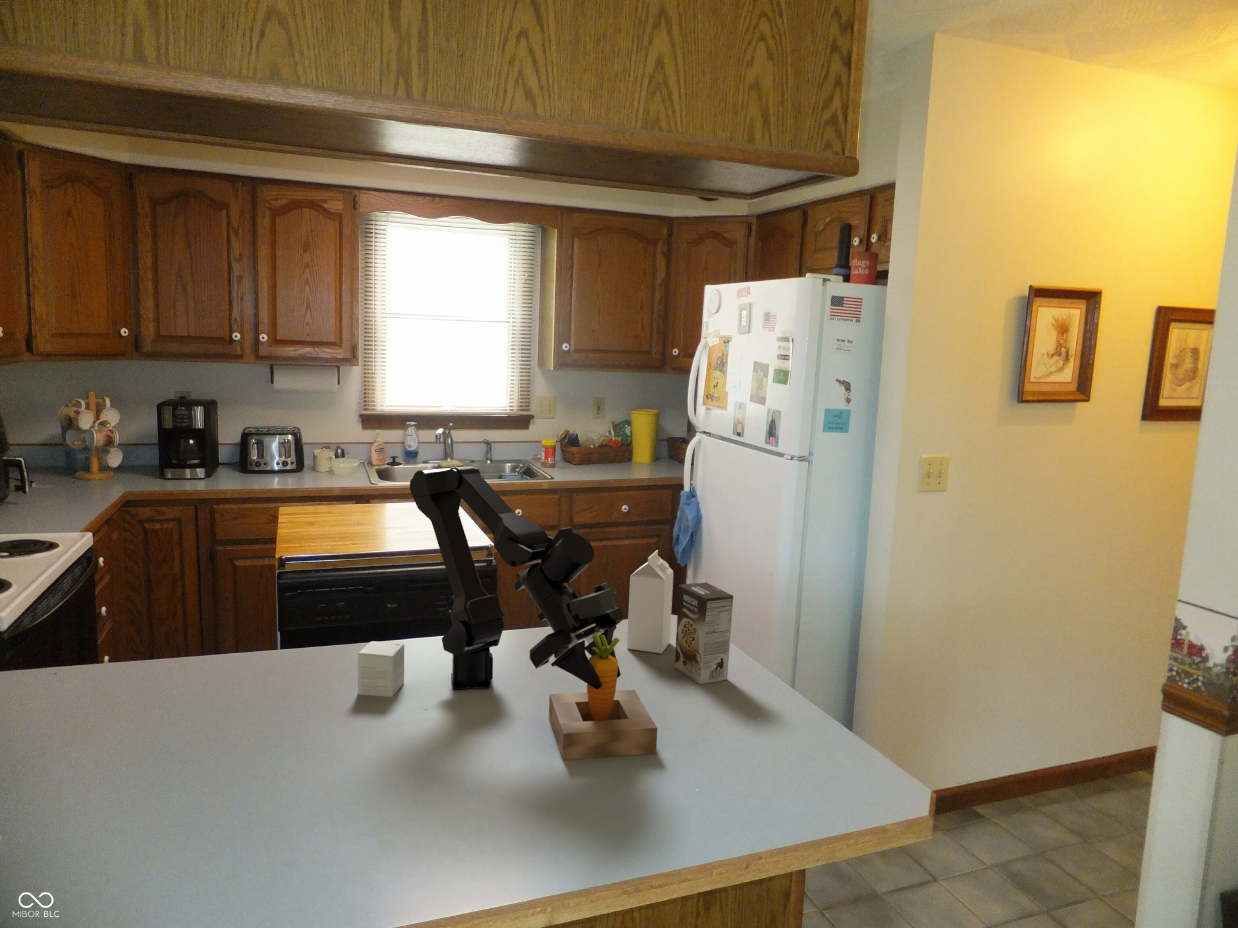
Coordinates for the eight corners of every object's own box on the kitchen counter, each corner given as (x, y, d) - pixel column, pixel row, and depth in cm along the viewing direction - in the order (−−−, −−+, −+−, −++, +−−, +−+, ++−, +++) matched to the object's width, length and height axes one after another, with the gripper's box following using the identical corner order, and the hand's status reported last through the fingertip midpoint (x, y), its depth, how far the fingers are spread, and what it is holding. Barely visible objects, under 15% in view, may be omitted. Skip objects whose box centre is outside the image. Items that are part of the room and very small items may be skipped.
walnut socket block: (562, 759, 124) (563, 733, 123) (548, 717, 137) (549, 693, 137) (656, 753, 127) (657, 727, 126) (633, 712, 140) (634, 689, 140)
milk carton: (626, 649, 169) (630, 555, 167) (636, 637, 176) (640, 548, 173) (661, 654, 167) (666, 560, 165) (669, 642, 174) (674, 551, 171)
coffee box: (672, 667, 161) (677, 584, 159) (701, 662, 164) (706, 580, 162) (699, 685, 153) (704, 597, 151) (729, 679, 156) (734, 594, 154)
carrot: (621, 724, 133) (625, 632, 131) (607, 737, 129) (611, 641, 126) (592, 716, 135) (597, 626, 133) (577, 729, 131) (582, 635, 129)
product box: (371, 680, 149) (371, 640, 148) (405, 683, 148) (405, 642, 147) (357, 694, 143) (357, 652, 142) (392, 697, 142) (392, 655, 141)
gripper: (548, 582, 123) (609, 675, 118) (618, 557, 138) (673, 638, 134) (504, 623, 128) (560, 713, 124) (576, 594, 144) (628, 673, 139)
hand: (609, 682), depth 130 cm, fingers closed on carrot, 5 cm apart
